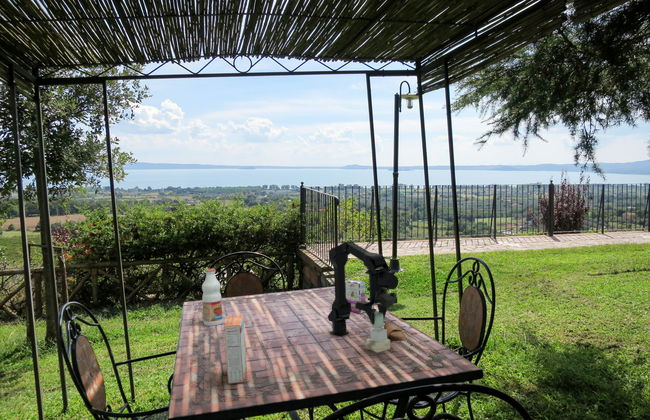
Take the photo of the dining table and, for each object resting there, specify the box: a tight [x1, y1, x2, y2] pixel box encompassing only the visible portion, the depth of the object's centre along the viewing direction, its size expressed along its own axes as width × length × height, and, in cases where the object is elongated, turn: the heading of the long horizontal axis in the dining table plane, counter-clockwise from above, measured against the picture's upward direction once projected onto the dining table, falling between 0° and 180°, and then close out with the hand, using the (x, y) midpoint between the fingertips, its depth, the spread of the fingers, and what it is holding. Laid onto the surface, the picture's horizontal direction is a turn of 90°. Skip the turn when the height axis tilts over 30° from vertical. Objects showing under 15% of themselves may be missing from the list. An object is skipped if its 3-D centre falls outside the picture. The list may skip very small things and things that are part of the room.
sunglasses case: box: [383, 322, 407, 342], centre depth 214 cm, size 18×7×7 cm
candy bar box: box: [345, 279, 367, 315], centre depth 255 cm, size 11×5×16 cm, turn 41°
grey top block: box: [369, 327, 387, 342], centre depth 197 cm, size 5×5×4 cm
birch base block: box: [365, 338, 391, 353], centre depth 197 cm, size 7×7×4 cm
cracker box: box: [223, 314, 248, 385], centre depth 174 cm, size 14×6×21 cm, turn 5°
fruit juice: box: [201, 267, 223, 327], centre depth 244 cm, size 9×9×28 cm
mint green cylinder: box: [371, 311, 385, 328], centre depth 197 cm, size 5×5×5 cm
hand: (377, 323), depth 197 cm, fingers closed on mint green cylinder, 5 cm apart
